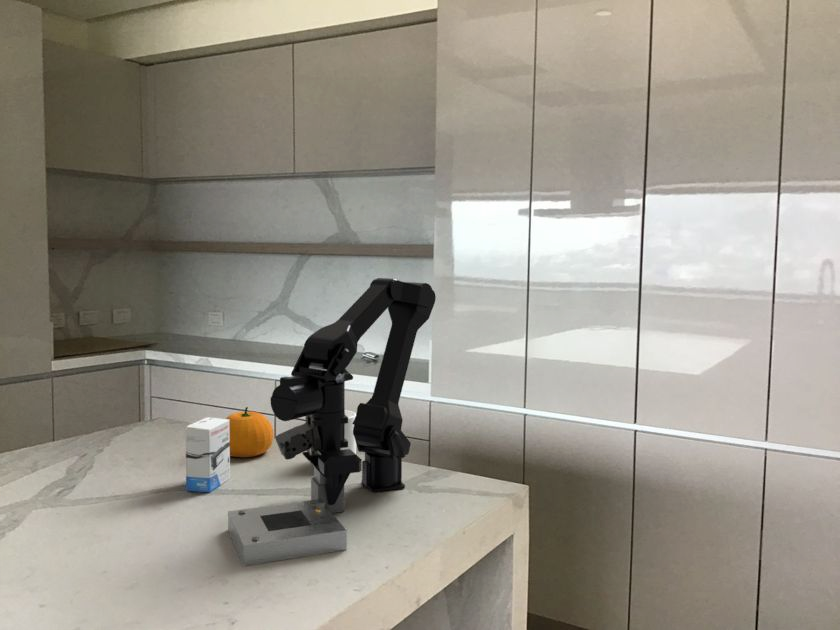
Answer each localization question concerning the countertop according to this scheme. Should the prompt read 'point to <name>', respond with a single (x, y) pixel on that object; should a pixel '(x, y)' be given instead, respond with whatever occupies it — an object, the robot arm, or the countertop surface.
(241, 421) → the fruit
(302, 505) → the faceplate
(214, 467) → the ink box
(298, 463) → the countertop surface
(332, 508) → the plug
